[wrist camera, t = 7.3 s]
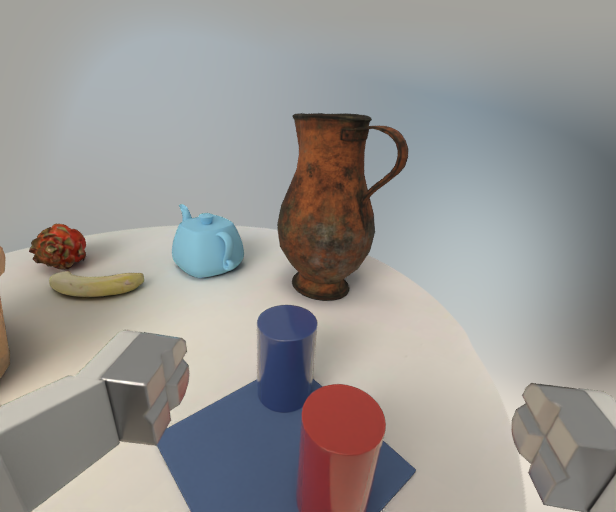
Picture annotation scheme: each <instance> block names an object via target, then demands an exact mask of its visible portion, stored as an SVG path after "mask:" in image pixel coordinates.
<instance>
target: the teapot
mask: <svg viewBox="0 0 616 512" xmlns="http://www.w3.org/2000/svg"><path fill="white" fill-rule="evenodd" d="M179 207H180V209H181V211H182V216H183V222H181V223H180V224H179V226H178V229H177V231H176V234H175V237H174V240H173V246H172V257H173V260H174V261H175V263H176V264H177V265H178V266H179V267H180V268H181V269H182V270H183V271H184V272H186V273H187V274H189V275H191V276H193V277H198V278H203V277H210V276H215V275H219V274H222V273H225V272H228V271H231V270H233V269H234V268H236V267H237V266H238V265H239V264H240V263H241V261H242V259H243V257H244V249H243V244H242V240H241V238H240V235H239V233H238V231H237V229H236V227H235V226H234V224H233V223H232V222H231V221H229V220H227V219H225V218H223V217H220V216H217V215H213V214H210V213H204V214H200V215H199V217H196V218H192V217H191V214H190V212H189V210H188V208H187V207H186V206H184V205H183V204H180V205H179Z"/></svg>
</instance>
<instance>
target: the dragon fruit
mask: <svg viewBox="0 0 616 512" xmlns="http://www.w3.org/2000/svg"><path fill="white" fill-rule="evenodd" d="M31 244H32V246H31V247H30V250H29V252H31V253H33V254H35V255H34V257H33V260H34V261H35V262H36V263H43V264H46V265H47V266H50V267H51V266H53V267H55V268H58V269H68V268H70V267H71V266H72V264H73V263H74V262H79V261H81V260H82V259H83V261H84V259H85V257H86V252H85V250H84V248H85V247H86V241H85V238H84V237H83V235H82V234H81V233H80V232H79V231H78V230H76V229H70V228H68V226H66V225H64V224H54V225H53V226H52V227H49V228H47V229H45V230H43V231H42V232H41V233H40V234H38V236H37V238H36V239H34V240H33V241H32V242H31Z"/></svg>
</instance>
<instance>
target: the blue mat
mask: <svg viewBox="0 0 616 512" xmlns="http://www.w3.org/2000/svg"><path fill="white" fill-rule="evenodd" d="M321 387H322V386H321V385H320V384H319V383H317V382H316V381H315V380H314V379H313V380H312V392H311V394H312V393H313V392H314V391H315V390H317V389H319V388H321ZM302 408H303V407H302ZM302 408H301V409H299V410H296V411H293V412H289V413H280V412H275V411H272V410H270V409H268V408H266V407H265V406H264V405H263V404H262V403H261V402H260V400H259V398H258V394H257V380H255V381H253V382H251V383H249V384H248V385H246V386H244V387H242V388H240V389H238V390H237V391H235V392H233V393H231V394H229V395H227V396H226V397H224V398H222V399H220V400H218V401H216V402H215V403H213V404H211V405H209V406H207V407H205V408H204V409H202V410H200V411H198V412H196V413H194V414H193V415H191V416H189V417H187V418H185V419H183V420H182V421H180V422H178V423H176V424H174V425H172V426H171V427H169V428H167V429H166V430H165V432H164V433H163V435H162V437H161V439H160V441H159V442H158V444H157V446H158V448H159V450H160V452H161V454H162V456H163V458H164V460H165V462H166V464H167V466H168V468H169V470H170V472H171V474H172V476H173V478H174V480H175V481H176V483H177V485H178V487H179V489H180V491H181V493H182V495H183V497H184V499H185V501H186V503H187V505H188V507H189V509H190V511H191V512H299V509H298V507H297V502H296V483H297V469H298V456H299V442H300V429H301V415H302ZM415 471H416V469H415V468H413V467H412V466H411V465H410V464H409V463H408V462H407V461H406V460H404V459H403V458H402V457H401V456H400V455H399V454H398V453H397V452H395V451H394V450H393V449H392V448H391V447H390V446H389V445H387V444H386V443H385V442H384V441H383V443H382V447H381V452H380V456H379V460H378V465H377V469H376V474H375V478H374V483H373V487H372V491H371V496H370V500H369V505H368V509H367V512H380V511H381V510H382V509H383V508H384V507H385V505H386V504H387V503H388V502H389V501H390V500H391V499H392V498H393V497H394V495H395V494H396V493H397V492H398V491H399V490H400V489H401V488H402V487H403V485H404V484H405V483H406V482H407V481H408V480H409V479H410V478H411V477H412V475H413V474H414V473H415Z"/></svg>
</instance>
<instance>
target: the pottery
mask: <svg viewBox="0 0 616 512" xmlns="http://www.w3.org/2000/svg"><path fill="white" fill-rule="evenodd" d="M4 271H5V254H4V251H3V248H2V247H0V276H1V275H2V274H3V273H4ZM9 365H10V350H9V348H8V342H7V335H6V329H5V323H4V317H3V310H2V304H1V298H0V379H1V377H2V375H3V374H4V372H5V371H6V369H7V368H8V366H9Z"/></svg>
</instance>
